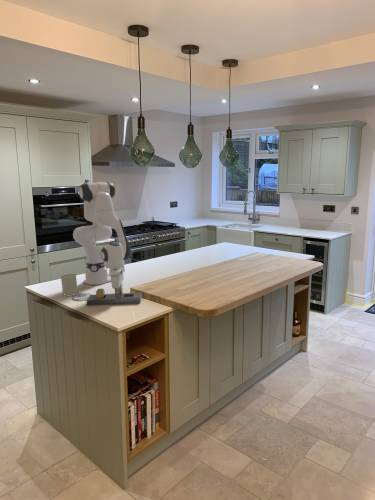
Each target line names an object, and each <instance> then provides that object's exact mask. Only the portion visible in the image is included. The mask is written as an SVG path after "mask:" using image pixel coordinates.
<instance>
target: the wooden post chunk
mask: <svg viewBox="0 0 375 500" xmlns="http://www.w3.org/2000/svg"><path fill="white" fill-rule="evenodd" d="M119 290H120V293H124V291H123V290H124V288H123V283H122V284H121V285H120V287H119ZM114 294H117V293H116V289H114Z"/></svg>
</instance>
